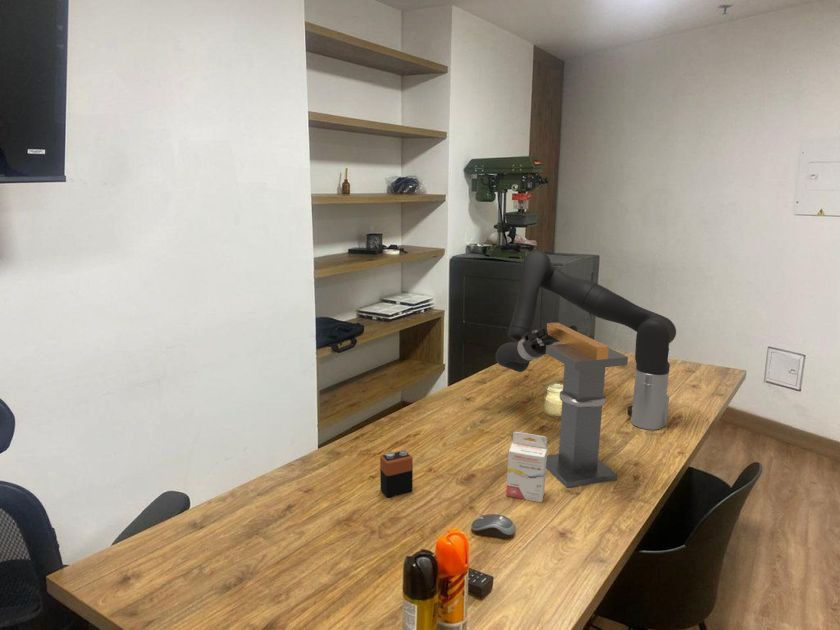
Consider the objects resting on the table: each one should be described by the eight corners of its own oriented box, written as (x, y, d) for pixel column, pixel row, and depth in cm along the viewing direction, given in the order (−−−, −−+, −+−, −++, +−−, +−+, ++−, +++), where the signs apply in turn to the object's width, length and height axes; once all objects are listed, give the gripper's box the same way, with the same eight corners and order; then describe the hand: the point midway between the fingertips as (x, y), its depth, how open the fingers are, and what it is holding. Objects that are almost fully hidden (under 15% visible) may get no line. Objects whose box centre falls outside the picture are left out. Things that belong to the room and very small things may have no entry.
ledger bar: (556, 333, 159) (557, 322, 159) (607, 358, 137) (608, 346, 136) (546, 333, 159) (547, 323, 158) (596, 359, 136) (597, 347, 135)
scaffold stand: (586, 454, 159) (594, 341, 151) (616, 479, 146) (627, 357, 138) (539, 461, 155) (546, 345, 148) (566, 487, 142) (575, 361, 135)
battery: (379, 489, 141) (379, 451, 139) (405, 483, 144) (405, 445, 142) (387, 498, 137) (386, 459, 135) (413, 491, 140) (413, 453, 138)
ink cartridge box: (505, 496, 138) (507, 438, 135) (509, 486, 143) (511, 430, 139) (542, 503, 135) (545, 444, 132) (545, 492, 140) (548, 435, 137)
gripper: (509, 334, 168) (533, 317, 153) (554, 330, 172) (581, 314, 157) (514, 359, 166) (539, 345, 151) (559, 355, 170) (587, 341, 155)
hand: (560, 329), depth 154 cm, fingers open, 8 cm apart
